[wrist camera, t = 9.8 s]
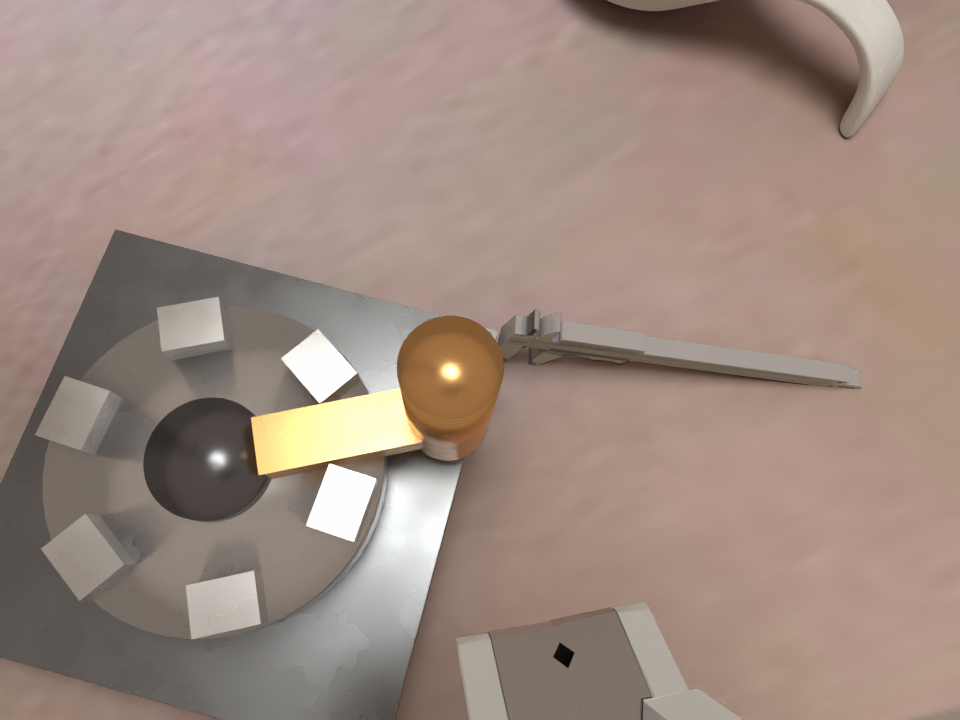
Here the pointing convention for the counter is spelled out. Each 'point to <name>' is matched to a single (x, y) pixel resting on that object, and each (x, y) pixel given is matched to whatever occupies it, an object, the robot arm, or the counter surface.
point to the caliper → (660, 352)
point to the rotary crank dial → (242, 461)
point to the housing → (271, 649)
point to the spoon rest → (868, 27)
